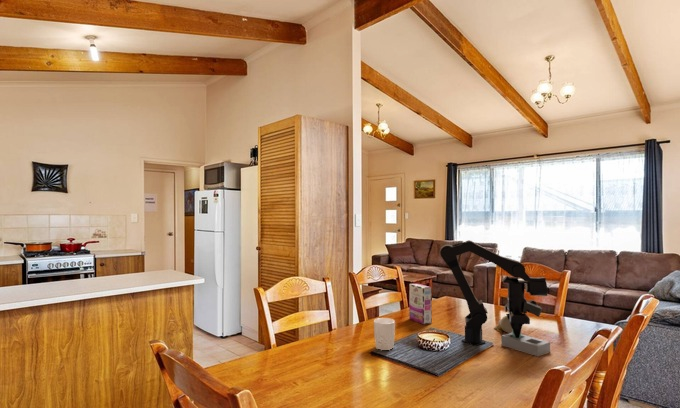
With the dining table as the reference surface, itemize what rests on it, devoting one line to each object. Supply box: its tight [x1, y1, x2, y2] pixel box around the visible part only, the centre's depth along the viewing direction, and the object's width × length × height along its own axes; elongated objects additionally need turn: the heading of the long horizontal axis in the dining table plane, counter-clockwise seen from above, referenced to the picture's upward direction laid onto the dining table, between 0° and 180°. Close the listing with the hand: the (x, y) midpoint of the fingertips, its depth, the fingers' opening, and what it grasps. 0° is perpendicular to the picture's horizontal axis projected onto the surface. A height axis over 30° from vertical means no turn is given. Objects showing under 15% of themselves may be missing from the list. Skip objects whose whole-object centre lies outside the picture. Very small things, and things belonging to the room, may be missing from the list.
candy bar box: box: [408, 283, 433, 325], centre depth 178 cm, size 11×5×16 cm, turn 25°
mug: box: [493, 315, 512, 334], centre depth 163 cm, size 8×10×10 cm
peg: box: [512, 329, 522, 339], centre depth 145 cm, size 3×3×10 cm
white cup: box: [373, 317, 396, 351], centre depth 144 cm, size 8×8×10 cm
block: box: [501, 333, 551, 357], centre depth 142 cm, size 8×14×4 cm, turn 34°
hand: (516, 336), depth 145 cm, fingers closed on peg, 3 cm apart
